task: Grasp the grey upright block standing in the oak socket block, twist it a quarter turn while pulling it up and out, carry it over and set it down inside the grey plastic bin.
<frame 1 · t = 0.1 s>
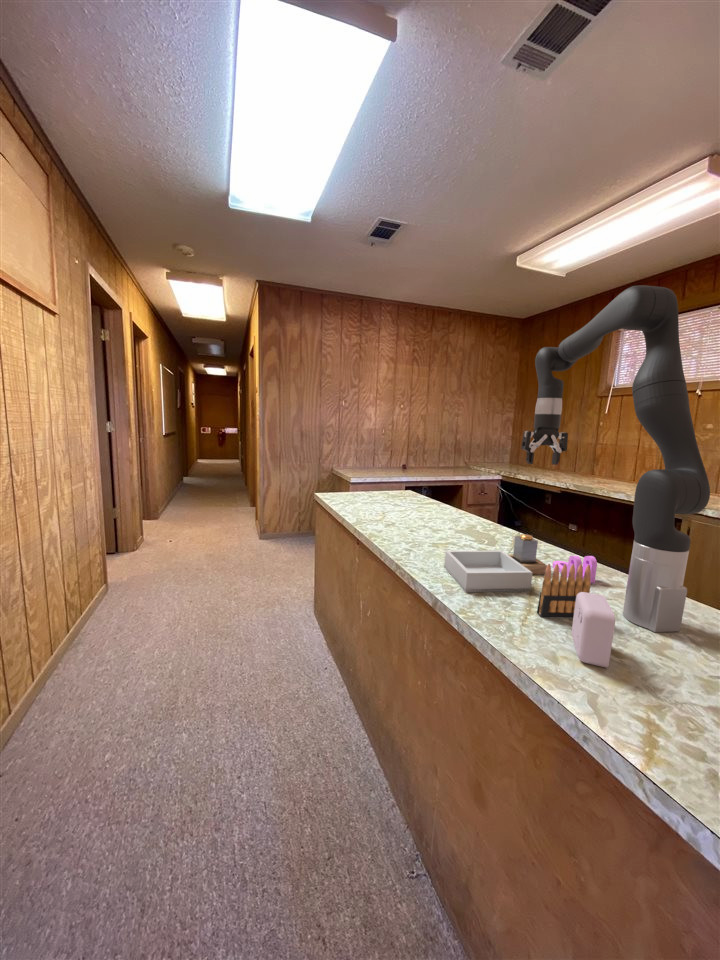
hand: (542, 464, 122), 29 cm above the countertop, tool pointing down, fingers open, 8 cm apart
bin: (484, 578, 102), on the countertop
socket block: (523, 568, 111), on the countertop
pink humped piece: (570, 574, 108), on the countertop
electronic device: (586, 652, 70), on the countertop
ammunition clip: (562, 616, 84), on the countertop
grey upright block: (524, 552, 110), in the socket block
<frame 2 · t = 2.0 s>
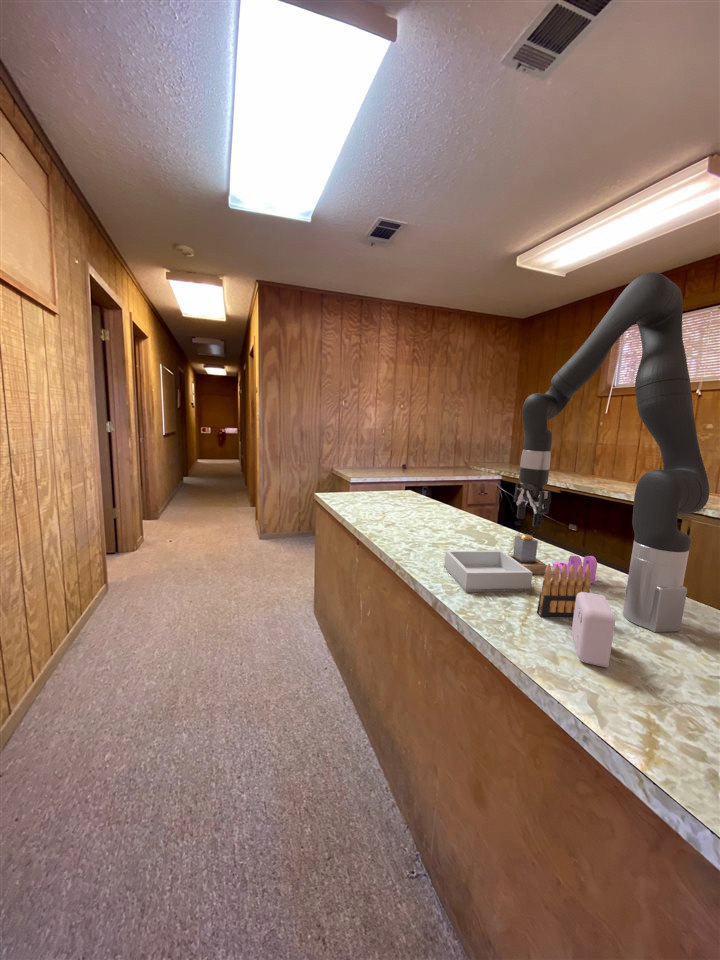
hand: (528, 522, 109), 14 cm above the countertop, tool pointing down, fingers open, 8 cm apart
nothing on the countertop moved.
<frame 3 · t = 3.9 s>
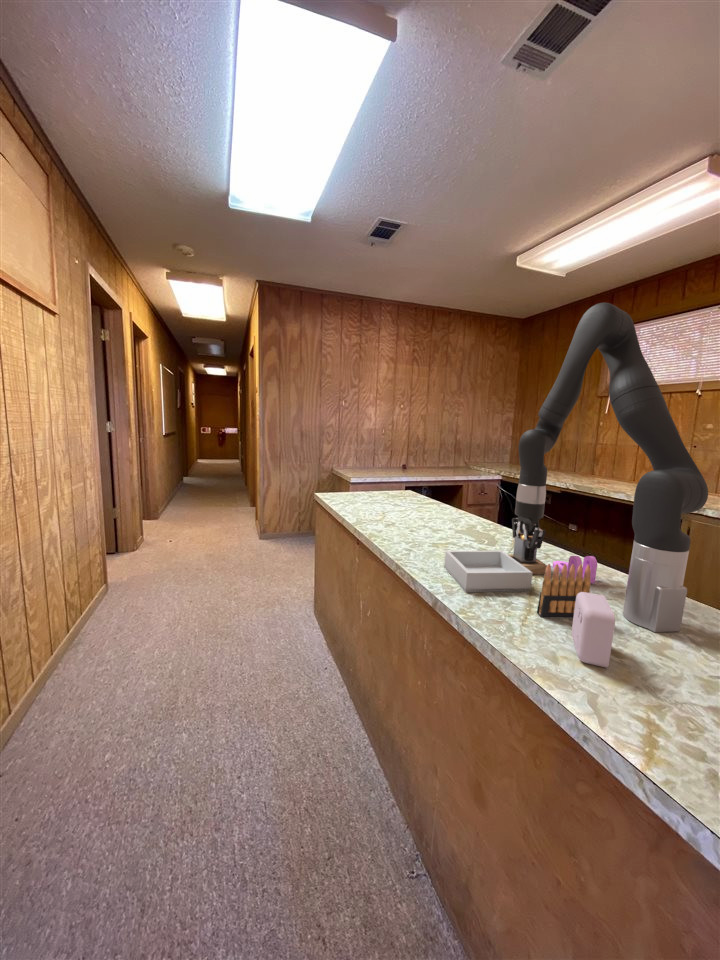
hand: (524, 557, 110), 3 cm above the countertop, tool pointing down, fingers closed on grey upright block, 4 cm apart
grey upright block: (524, 552, 110), in the socket block, touching gripper
everything else where it was.
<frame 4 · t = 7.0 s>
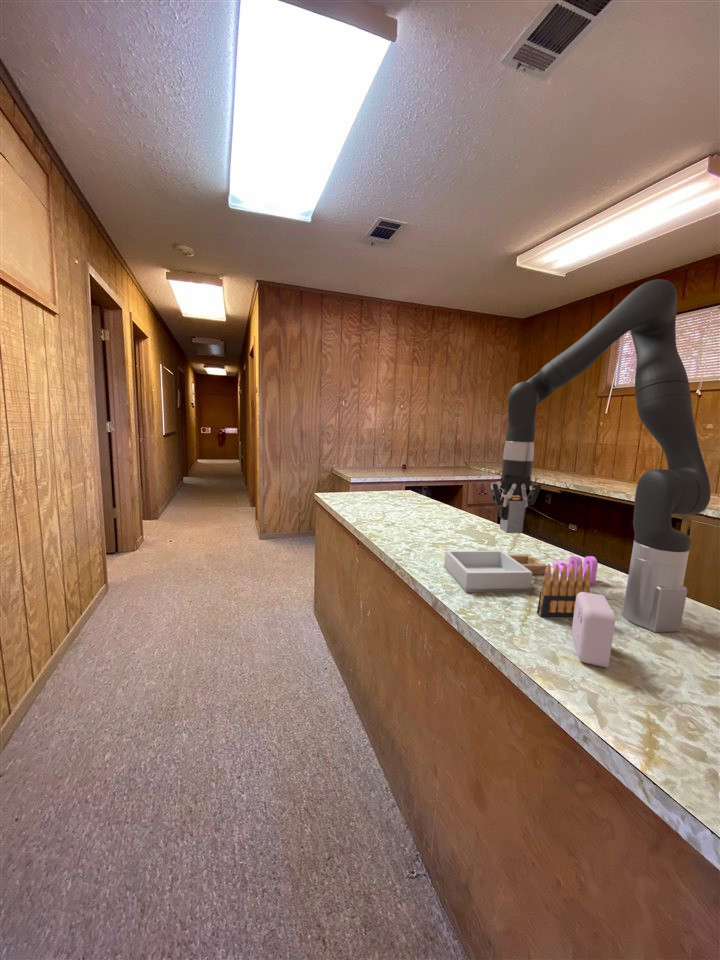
hand: (511, 519, 105), 15 cm above the countertop, tool pointing down, fingers closed on grey upright block, 4 cm apart
grey upright block: (512, 513, 105), point 17 cm above the countertop, touching gripper
everything else where it was.
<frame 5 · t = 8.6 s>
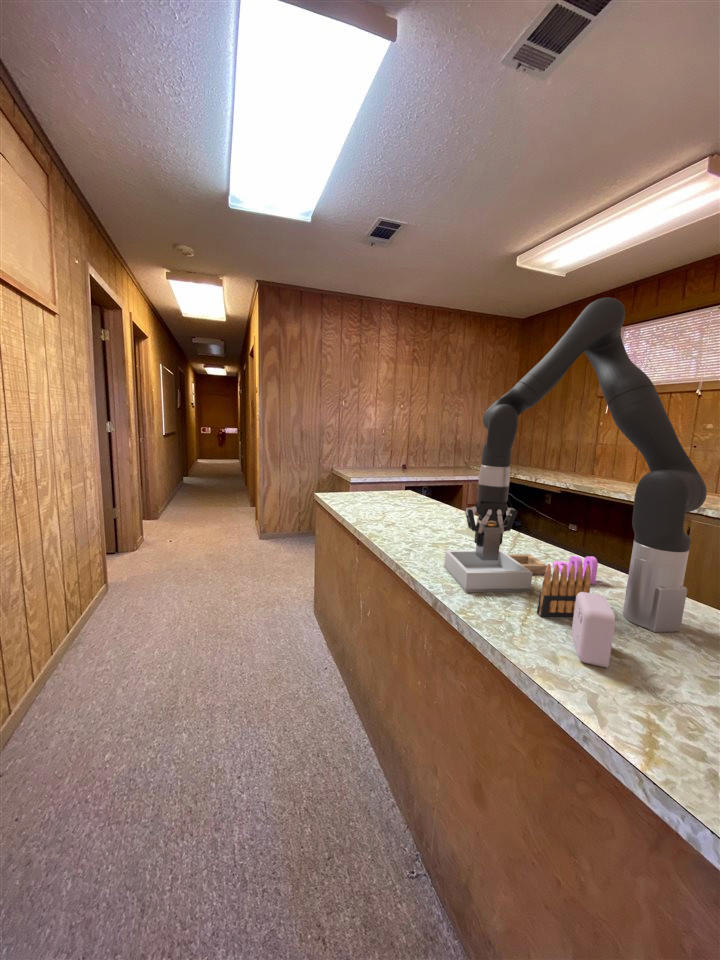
hand: (487, 545, 101), 9 cm above the countertop, tool pointing down, fingers closed on grey upright block, 4 cm apart
grey upright block: (488, 539, 101), point 11 cm above the countertop, touching gripper
everything else where it was.
when the fingers open (6 cm above the countertop, at t = 10.0 s): grey upright block drops 2 cm, resting on bin.
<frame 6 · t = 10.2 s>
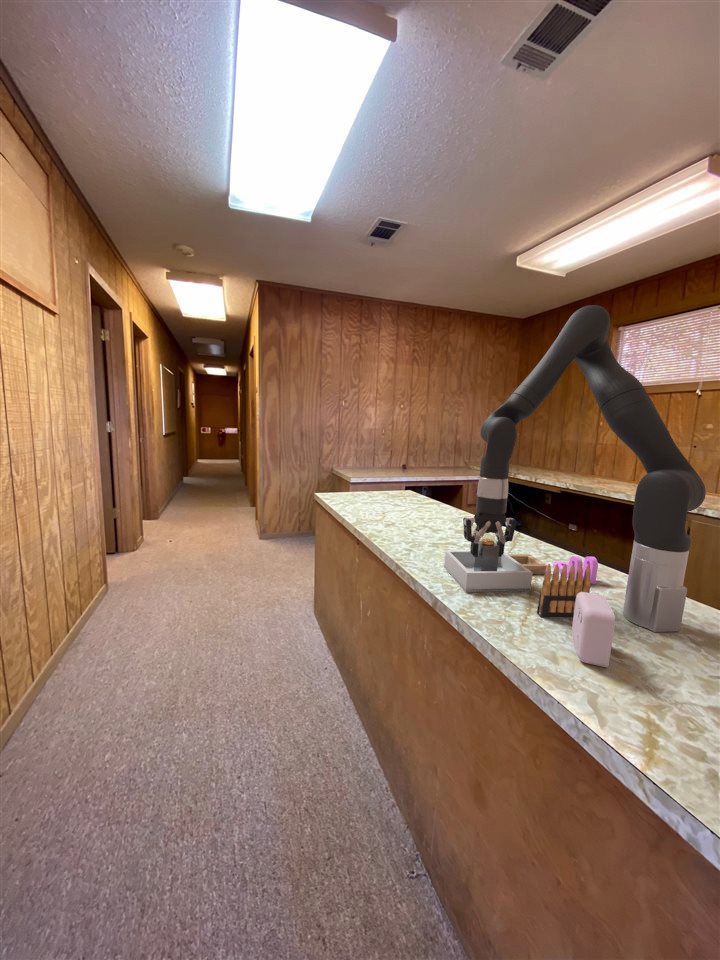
hand: (486, 555, 101), 6 cm above the countertop, tool pointing down, fingers open, 6 cm apart
grey upright block: (486, 558, 101), in the bin, point 6 cm above the countertop
everything else where it was.
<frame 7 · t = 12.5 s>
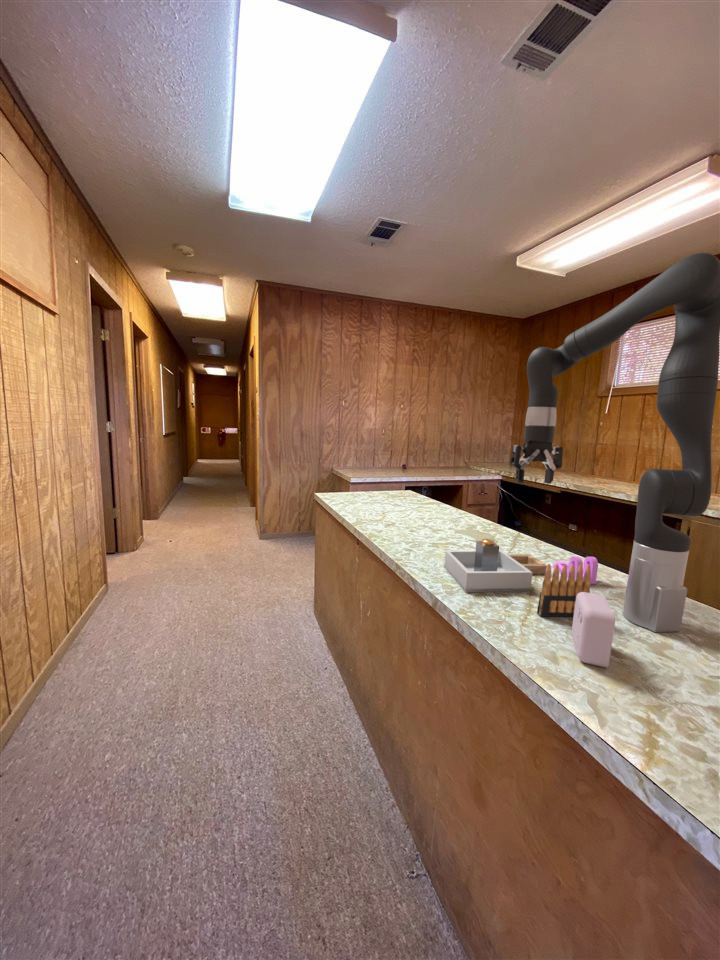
hand: (533, 483, 106), 25 cm above the countertop, tool pointing down, fingers open, 8 cm apart
nothing on the countertop moved.
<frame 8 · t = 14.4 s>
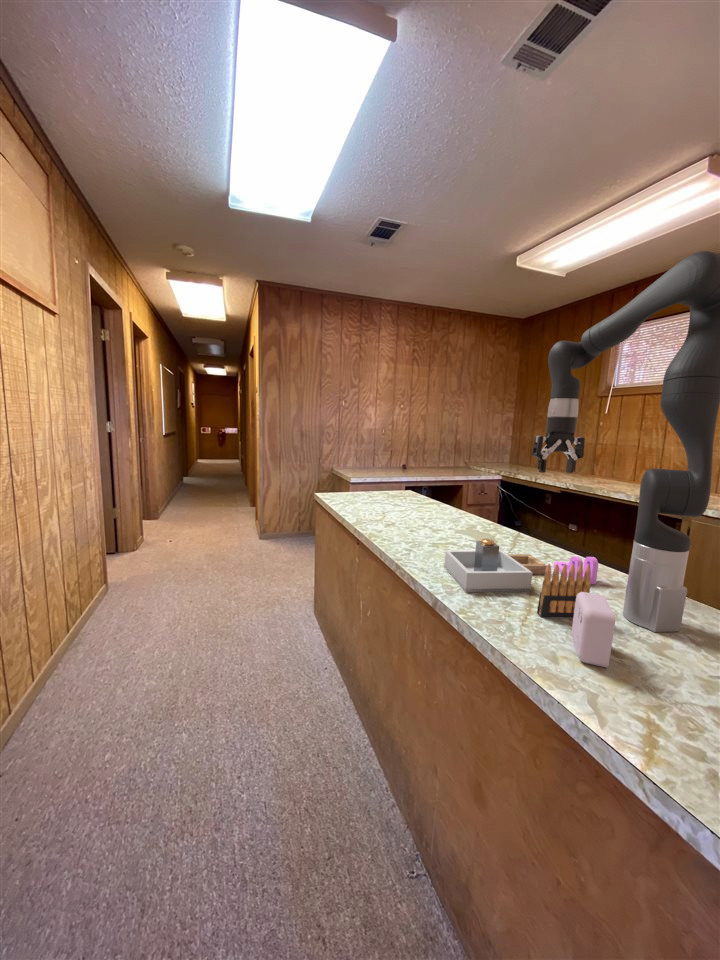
hand: (555, 472, 109), 28 cm above the countertop, tool pointing down, fingers open, 8 cm apart
nothing on the countertop moved.
at the end: grey upright block inside the target area on the bin (0.1 cm from its centre), point 5.7 cm above the bin's base; the gripper is holding nothing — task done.
